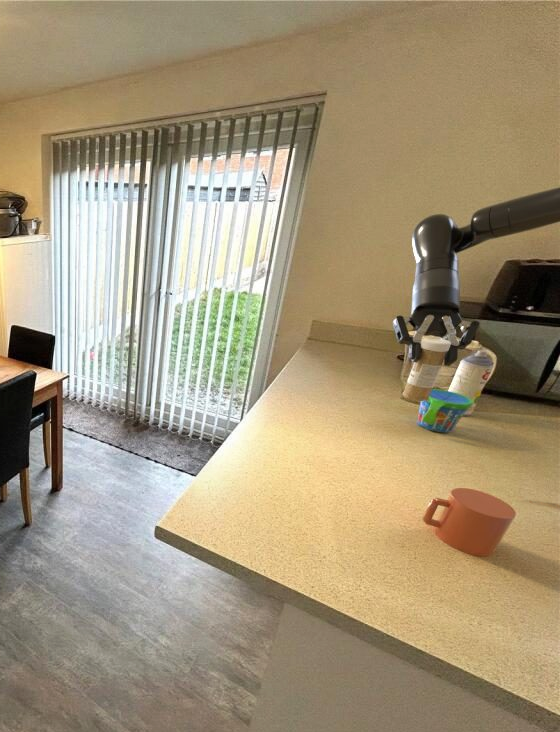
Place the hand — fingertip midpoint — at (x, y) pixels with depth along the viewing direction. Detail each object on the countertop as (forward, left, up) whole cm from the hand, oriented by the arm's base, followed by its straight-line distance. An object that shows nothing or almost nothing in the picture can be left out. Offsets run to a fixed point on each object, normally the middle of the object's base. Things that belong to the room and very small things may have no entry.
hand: (432, 362), depth 82 cm
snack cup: (-17, -36, -30) cm, 49 cm away
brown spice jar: (0, -2, -9) cm, 9 cm away
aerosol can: (-26, -52, -30) cm, 65 cm away
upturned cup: (-8, +17, -30) cm, 35 cm away
